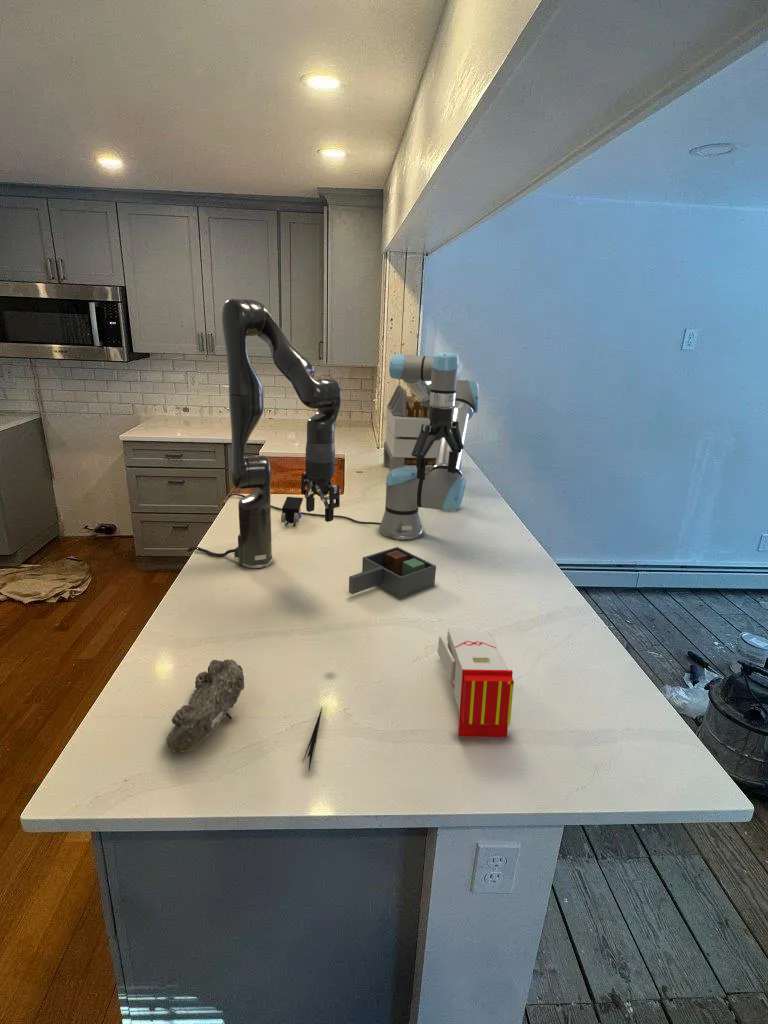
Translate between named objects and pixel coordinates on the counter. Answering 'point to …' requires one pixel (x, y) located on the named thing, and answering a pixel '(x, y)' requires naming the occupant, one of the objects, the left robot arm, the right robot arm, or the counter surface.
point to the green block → (412, 566)
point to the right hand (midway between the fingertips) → (436, 475)
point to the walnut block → (395, 561)
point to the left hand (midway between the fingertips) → (319, 516)
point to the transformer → (405, 431)
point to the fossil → (206, 705)
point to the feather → (313, 740)
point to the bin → (391, 576)
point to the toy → (478, 682)
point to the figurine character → (291, 510)
